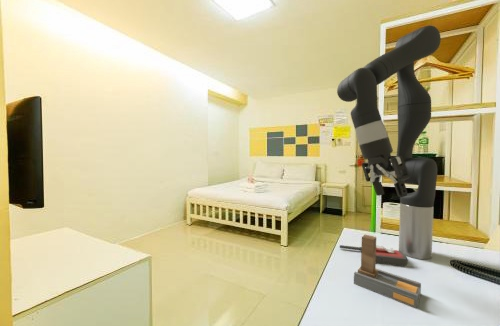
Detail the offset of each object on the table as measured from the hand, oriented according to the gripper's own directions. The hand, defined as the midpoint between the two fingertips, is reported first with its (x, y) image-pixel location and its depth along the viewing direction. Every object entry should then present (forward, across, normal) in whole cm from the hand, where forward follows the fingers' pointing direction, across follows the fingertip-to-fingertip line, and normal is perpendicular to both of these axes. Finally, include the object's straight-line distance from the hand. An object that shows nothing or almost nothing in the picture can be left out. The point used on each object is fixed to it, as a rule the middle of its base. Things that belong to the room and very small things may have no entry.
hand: (391, 195), depth 61 cm
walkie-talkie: (+22, +15, +3) cm, 27 cm away
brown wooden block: (+18, +1, +13) cm, 22 cm away
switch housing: (+22, -2, +11) cm, 24 cm away
